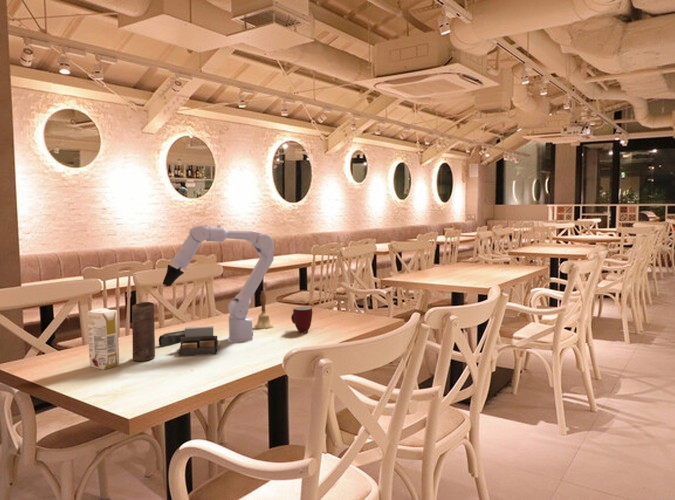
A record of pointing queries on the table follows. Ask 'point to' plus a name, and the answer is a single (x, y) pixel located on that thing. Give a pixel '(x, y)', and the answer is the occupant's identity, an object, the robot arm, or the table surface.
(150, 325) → the candle
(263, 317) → the hand bell
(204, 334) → the grey flat block
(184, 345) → the offcut
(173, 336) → the mobile phone
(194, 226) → the robot arm
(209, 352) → the rack
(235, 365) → the table surface
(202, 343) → the offcut
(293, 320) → the mug
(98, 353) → the juice carton
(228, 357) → the table surface
